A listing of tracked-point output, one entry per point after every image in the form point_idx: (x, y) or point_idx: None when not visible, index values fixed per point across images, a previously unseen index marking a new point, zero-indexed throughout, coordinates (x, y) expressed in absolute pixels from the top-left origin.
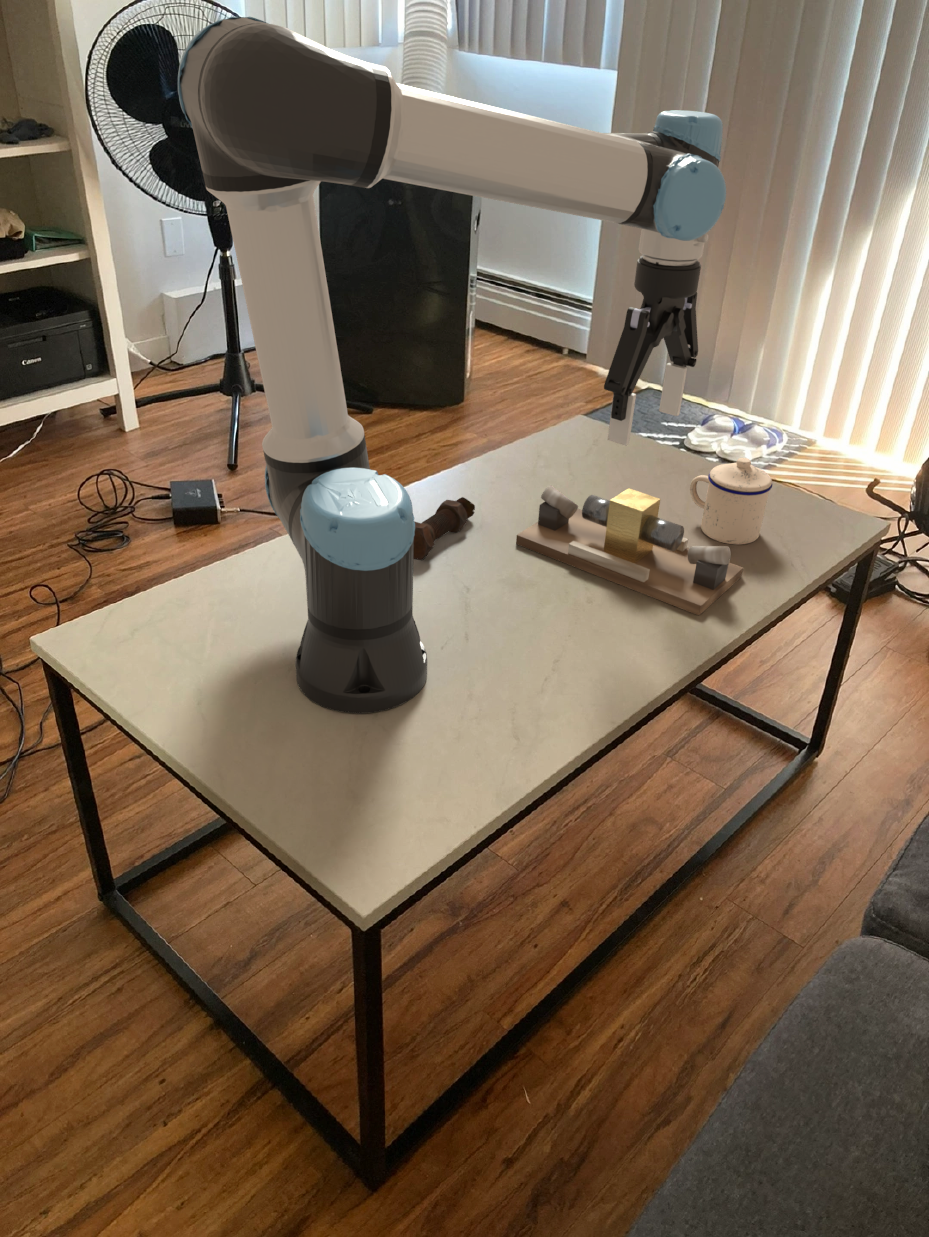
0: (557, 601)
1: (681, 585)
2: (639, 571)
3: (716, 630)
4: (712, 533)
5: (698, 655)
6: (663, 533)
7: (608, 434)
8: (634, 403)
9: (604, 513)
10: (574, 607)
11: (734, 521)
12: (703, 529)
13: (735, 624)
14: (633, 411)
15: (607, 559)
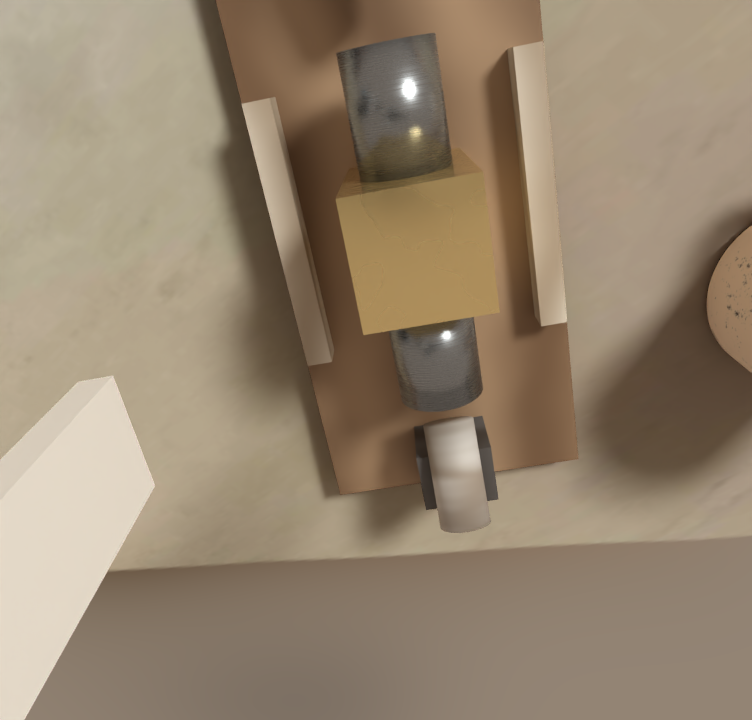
0: (95, 237)
1: (378, 418)
2: (303, 349)
3: (326, 529)
4: (715, 290)
5: (223, 554)
6: (401, 377)
7: (64, 398)
8: (31, 696)
9: (358, 153)
10: (116, 284)
11: (748, 365)
12: (731, 248)
13: (378, 539)
14: (65, 639)
15: (278, 248)
